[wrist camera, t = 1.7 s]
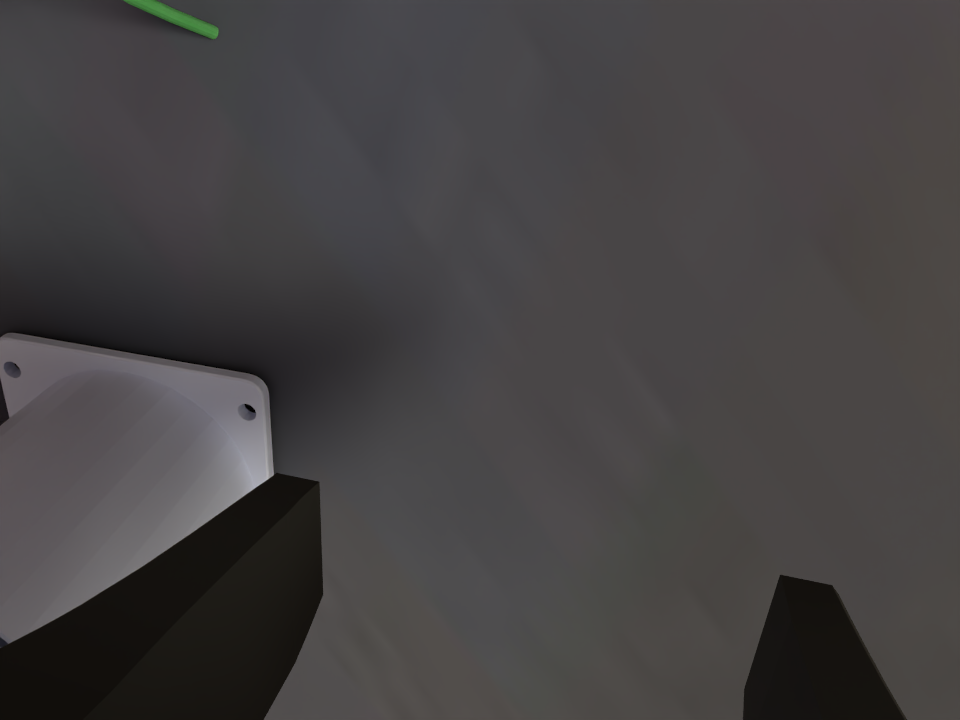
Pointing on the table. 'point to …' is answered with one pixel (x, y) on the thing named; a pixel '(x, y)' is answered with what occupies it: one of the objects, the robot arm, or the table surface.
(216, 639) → the robot arm
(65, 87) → the table surface
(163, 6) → the lily
